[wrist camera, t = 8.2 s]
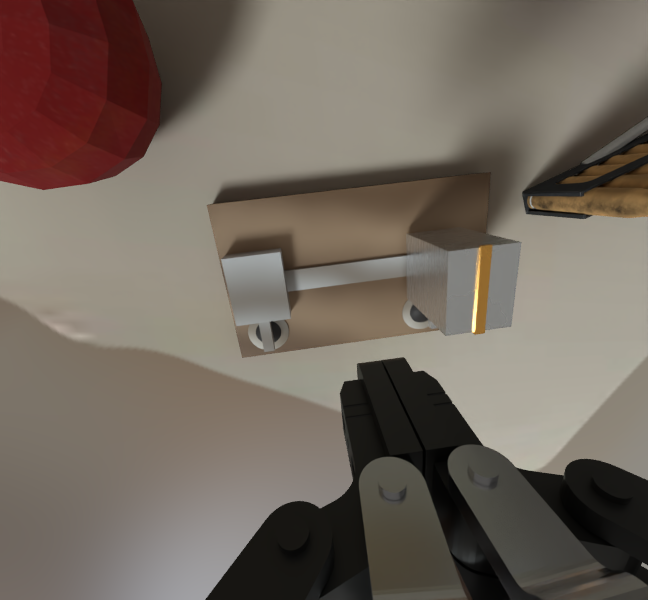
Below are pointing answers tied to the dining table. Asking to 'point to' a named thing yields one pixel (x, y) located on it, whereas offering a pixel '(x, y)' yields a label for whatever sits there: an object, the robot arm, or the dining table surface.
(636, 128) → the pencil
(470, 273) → the grey latch block
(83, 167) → the apple
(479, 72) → the dining table surface
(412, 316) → the sliding latch plate
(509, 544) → the robot arm
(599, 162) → the ammunition clip
